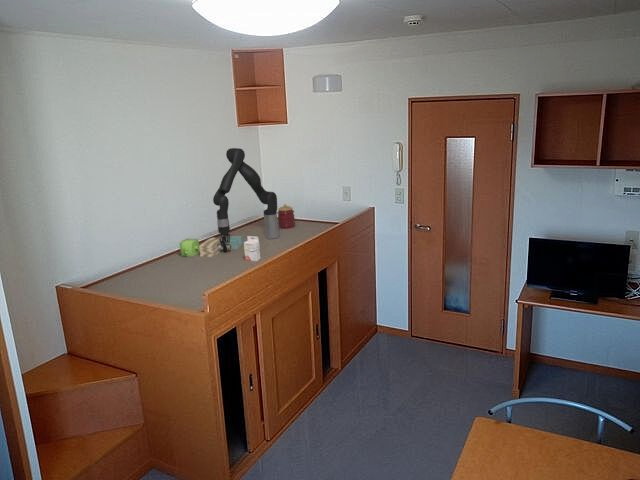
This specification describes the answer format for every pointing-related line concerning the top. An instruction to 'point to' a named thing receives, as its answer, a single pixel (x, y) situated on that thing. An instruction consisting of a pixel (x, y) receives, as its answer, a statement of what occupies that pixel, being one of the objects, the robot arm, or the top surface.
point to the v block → (236, 242)
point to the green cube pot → (189, 247)
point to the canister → (286, 217)
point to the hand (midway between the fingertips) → (226, 250)
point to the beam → (209, 247)
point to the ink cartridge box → (252, 249)
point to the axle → (222, 247)
